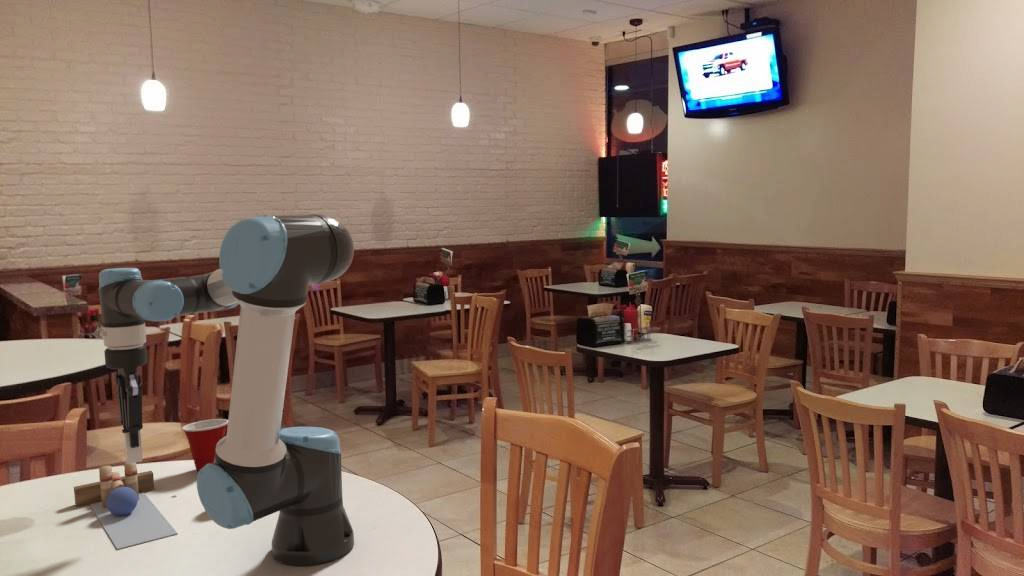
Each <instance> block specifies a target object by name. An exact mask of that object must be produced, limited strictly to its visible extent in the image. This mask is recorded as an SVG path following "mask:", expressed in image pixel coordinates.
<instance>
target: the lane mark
mask: <svg viewBox="0 0 1024 576" xmlns="http://www.w3.org/2000/svg"><path fill="white" fill-rule="evenodd" d="M89 506H90V507H91V510H92V511H93V512H94V515H95V516H96V517H97V519H98V520H99V522H100V524H101V525H102V527H103V529H104V530H105V532H106V534H107V536H109V538H110V540H111V542H112V543H113V546H114V547H115V549H116V550H117V551H118V550H122V549H126V548H130V547H133V546H138V545H141V544H145V543H149V542H153V541H156V540H159V539H161V540H162V539H164V538H168V537H173V536H176V535H178V532H177V531H176V530H175V528H174V527H173V526H172V525H171V523H170V522H169V521H168V519H166V517H165V516H164V515H163V513H162V512H161V511H160V510H159V509H158V507H156V505H155V504H154V503H153V501H151V499H150V498H149V497H148V496H147V495H146V493H145V492H141V493H139V500H138V503H137V506H136V508H135V509H134V510H133V511H132V512H131V513H129V514H127V515H124V516H117V515H114V514H112V513H111V512H110V511H109V510H108V508H102V501H101V502H96V503H92V504H89Z"/></svg>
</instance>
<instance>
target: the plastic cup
mask: <svg viewBox="0 0 1024 576" xmlns="http://www.w3.org/2000/svg"><path fill="white" fill-rule="evenodd" d="M227 427H228V419H226V418H214V419H213V418H212V419H205V420H200V421H199V420H198V421H195V422H191V423H188V424H186V425H184V426H182V428H181V429H182V431H183V432H184V434H185V436H186V439H187V442H188V445H189V448H190V452H191V456H192V459H193V462H194V466H195V470H196V473H197V474H198V473H199V471H200V469H202V468H203V467H204V466H205V465H206V464H209V463H213V462H214V459H215V450H216V445H217V443H218V442H219V441H220V440H221V439H222V438H224V437H225V436H226V435H227Z"/></svg>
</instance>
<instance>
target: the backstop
mask: <svg viewBox="0 0 1024 576" xmlns="http://www.w3.org/2000/svg"><path fill="white" fill-rule="evenodd" d="M121 478H122V481H123V485H124V487H126V480H125V475H124V476H121ZM137 479H138V492H139V493H145V492H149V491H154V490H155V482H154V472H153V471H152V470H147V471H143V472H142V471H141V472H139V473H138V472H137ZM73 493H74V494H73V495H74V504H76V505H75V506H76V507H78V506H79V507H83V506H87V504H88V505H90V504H95V503H99V502H102V498H101V486H100V480H99V481H94V482H90V483H86V484H80V485H76V486H73Z"/></svg>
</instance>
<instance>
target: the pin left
mask: <svg viewBox="0 0 1024 576" xmlns="http://www.w3.org/2000/svg"><path fill="white" fill-rule="evenodd" d="M112 469H113V468H112V465H103V466H99V468H98V470H99V475H98V477H99V481H100V486H101V498H102V501H101V502H102V508H107V504H106V503H107V498H108V496H109V494H110V493H111V492H112V491H113V480H112V479H113V477H112V472H113V470H112Z"/></svg>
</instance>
